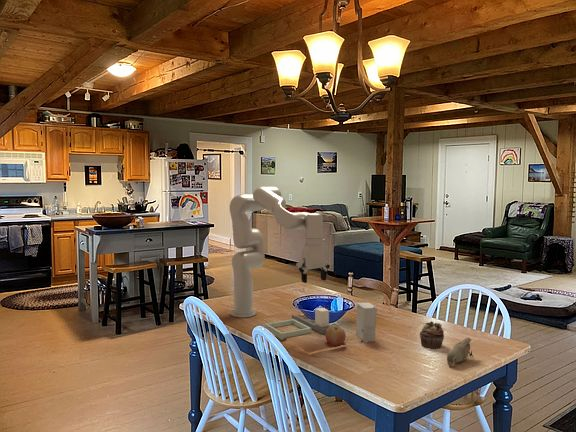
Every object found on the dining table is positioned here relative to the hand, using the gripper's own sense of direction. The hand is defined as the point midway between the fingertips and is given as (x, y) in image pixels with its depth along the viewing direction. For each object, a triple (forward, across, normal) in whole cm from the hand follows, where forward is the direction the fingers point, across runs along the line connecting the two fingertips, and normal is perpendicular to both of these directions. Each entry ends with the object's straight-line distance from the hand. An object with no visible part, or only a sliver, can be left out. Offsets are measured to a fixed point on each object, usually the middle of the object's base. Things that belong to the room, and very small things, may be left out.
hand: (314, 281), depth 206 cm
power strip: (+24, -5, -12) cm, 27 cm away
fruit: (+24, -1, +15) cm, 28 cm away
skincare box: (+24, -17, +14) cm, 33 cm away
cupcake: (+25, -36, +34) cm, 55 cm away
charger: (+23, -5, -2) cm, 23 cm away
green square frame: (+24, +9, -8) cm, 26 cm away
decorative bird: (+25, -32, +51) cm, 65 cm away
